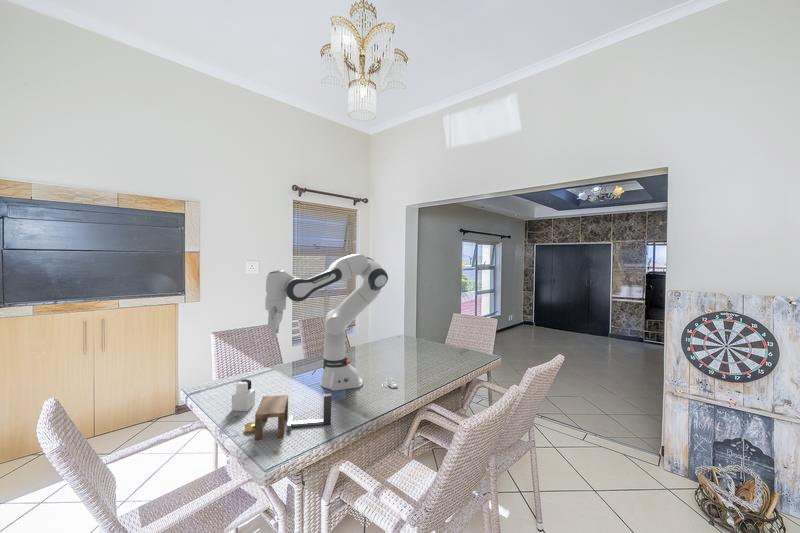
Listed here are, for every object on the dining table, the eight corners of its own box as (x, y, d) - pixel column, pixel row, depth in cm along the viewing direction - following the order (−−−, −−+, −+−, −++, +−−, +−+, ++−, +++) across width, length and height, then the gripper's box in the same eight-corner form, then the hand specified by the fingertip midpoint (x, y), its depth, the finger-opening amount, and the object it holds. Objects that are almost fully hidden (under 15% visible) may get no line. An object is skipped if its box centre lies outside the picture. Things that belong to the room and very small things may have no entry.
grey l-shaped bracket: (330, 418, 141) (331, 390, 141) (330, 428, 133) (331, 398, 133) (289, 421, 137) (289, 392, 137) (286, 431, 130) (287, 401, 129)
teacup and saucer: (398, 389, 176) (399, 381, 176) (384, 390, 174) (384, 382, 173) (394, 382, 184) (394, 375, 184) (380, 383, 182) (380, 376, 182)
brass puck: (259, 426, 134) (259, 421, 133) (257, 432, 129) (257, 427, 129) (245, 427, 132) (246, 422, 132) (243, 434, 127) (243, 429, 127)
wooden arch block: (287, 417, 141) (288, 395, 141) (283, 437, 126) (283, 412, 125) (262, 418, 139) (263, 396, 139) (254, 440, 123) (255, 414, 123)
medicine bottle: (239, 403, 152) (240, 377, 152) (255, 404, 152) (255, 378, 151) (231, 410, 145) (231, 383, 145) (247, 411, 145) (248, 384, 144)
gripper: (280, 309, 144) (279, 341, 144) (285, 302, 164) (284, 330, 164) (264, 309, 142) (263, 341, 143) (271, 302, 162) (271, 330, 163)
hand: (275, 335), depth 154 cm, fingers open, 8 cm apart
